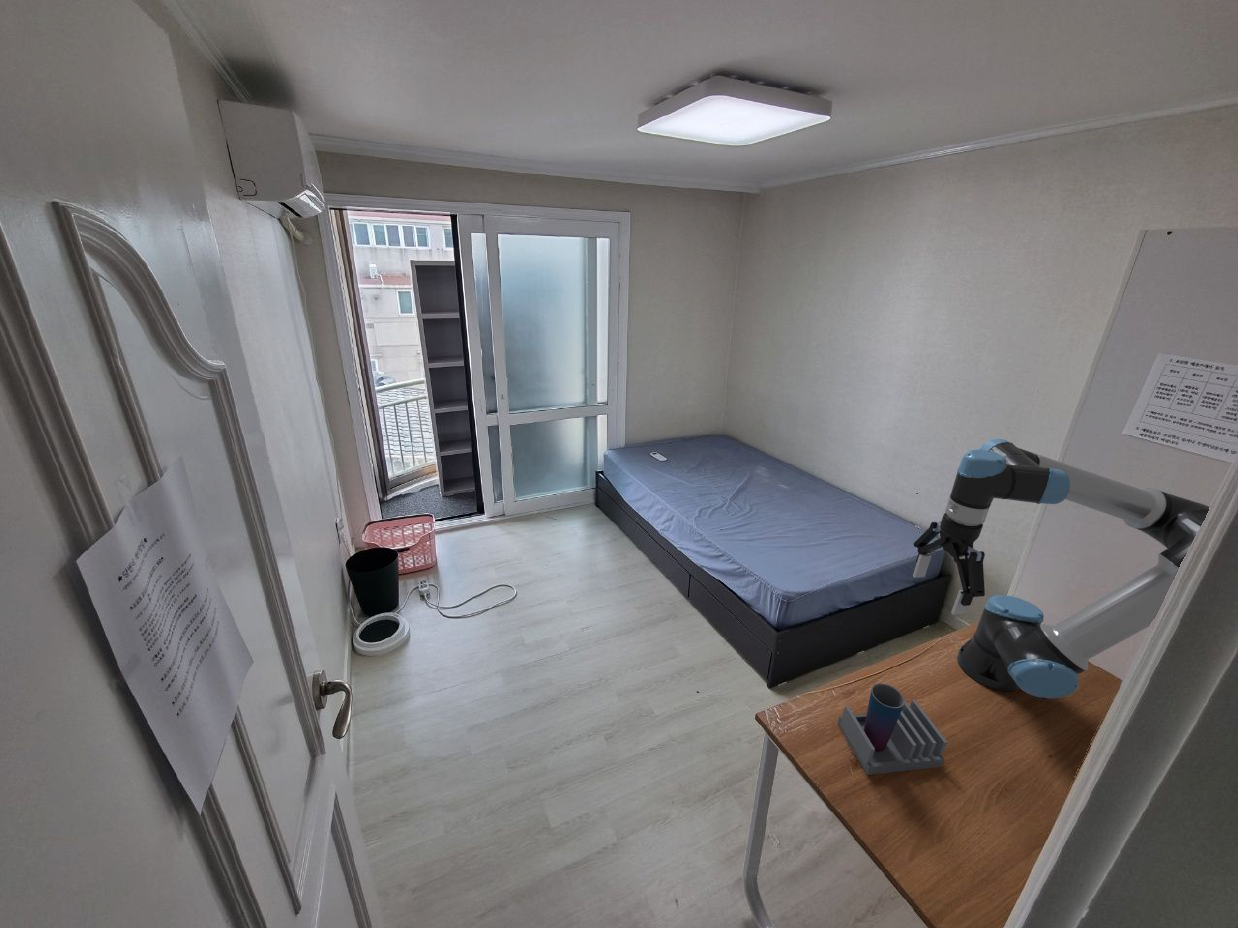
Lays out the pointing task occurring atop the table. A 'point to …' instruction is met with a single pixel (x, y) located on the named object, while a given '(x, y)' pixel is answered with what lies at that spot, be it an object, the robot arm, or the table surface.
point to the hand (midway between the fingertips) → (937, 594)
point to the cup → (882, 714)
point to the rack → (896, 742)
